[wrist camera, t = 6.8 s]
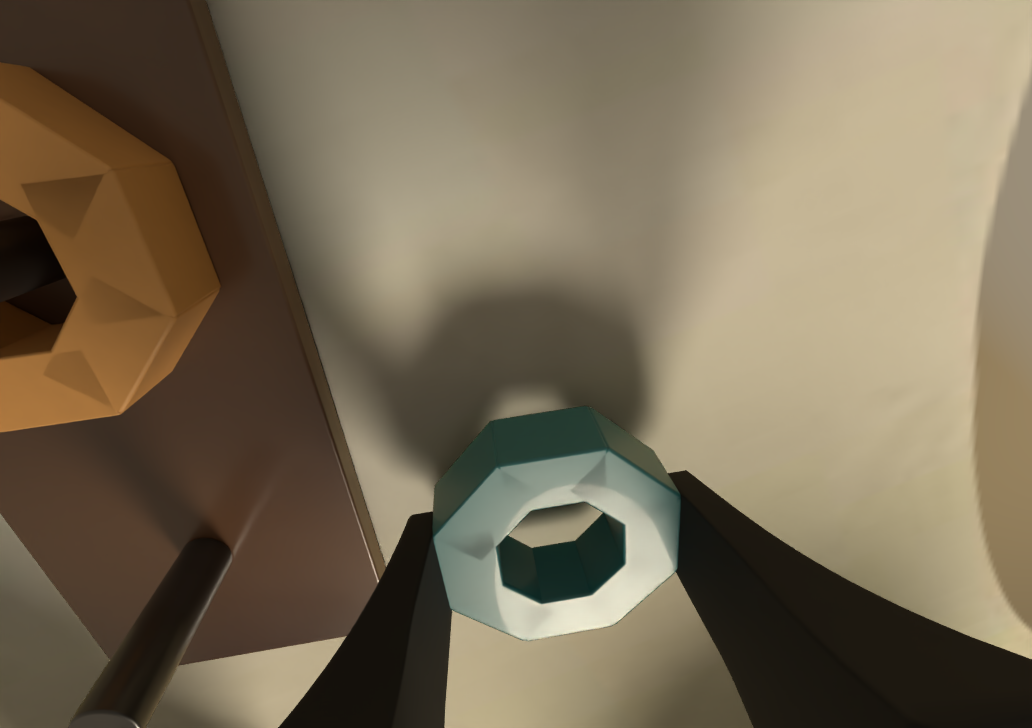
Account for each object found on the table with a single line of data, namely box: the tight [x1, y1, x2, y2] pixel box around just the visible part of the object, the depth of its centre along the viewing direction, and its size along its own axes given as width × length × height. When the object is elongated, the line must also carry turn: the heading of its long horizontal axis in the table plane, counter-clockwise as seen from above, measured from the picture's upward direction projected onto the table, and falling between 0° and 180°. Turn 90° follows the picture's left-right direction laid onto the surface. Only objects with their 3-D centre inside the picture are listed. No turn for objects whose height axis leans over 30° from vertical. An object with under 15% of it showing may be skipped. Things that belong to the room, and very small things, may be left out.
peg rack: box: [0, 0, 386, 728], centre depth 9 cm, size 16×8×5 cm, turn 6°
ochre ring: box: [0, 62, 221, 432], centre depth 8 cm, size 6×6×2 cm
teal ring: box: [432, 406, 681, 641], centre depth 12 cm, size 6×6×2 cm
